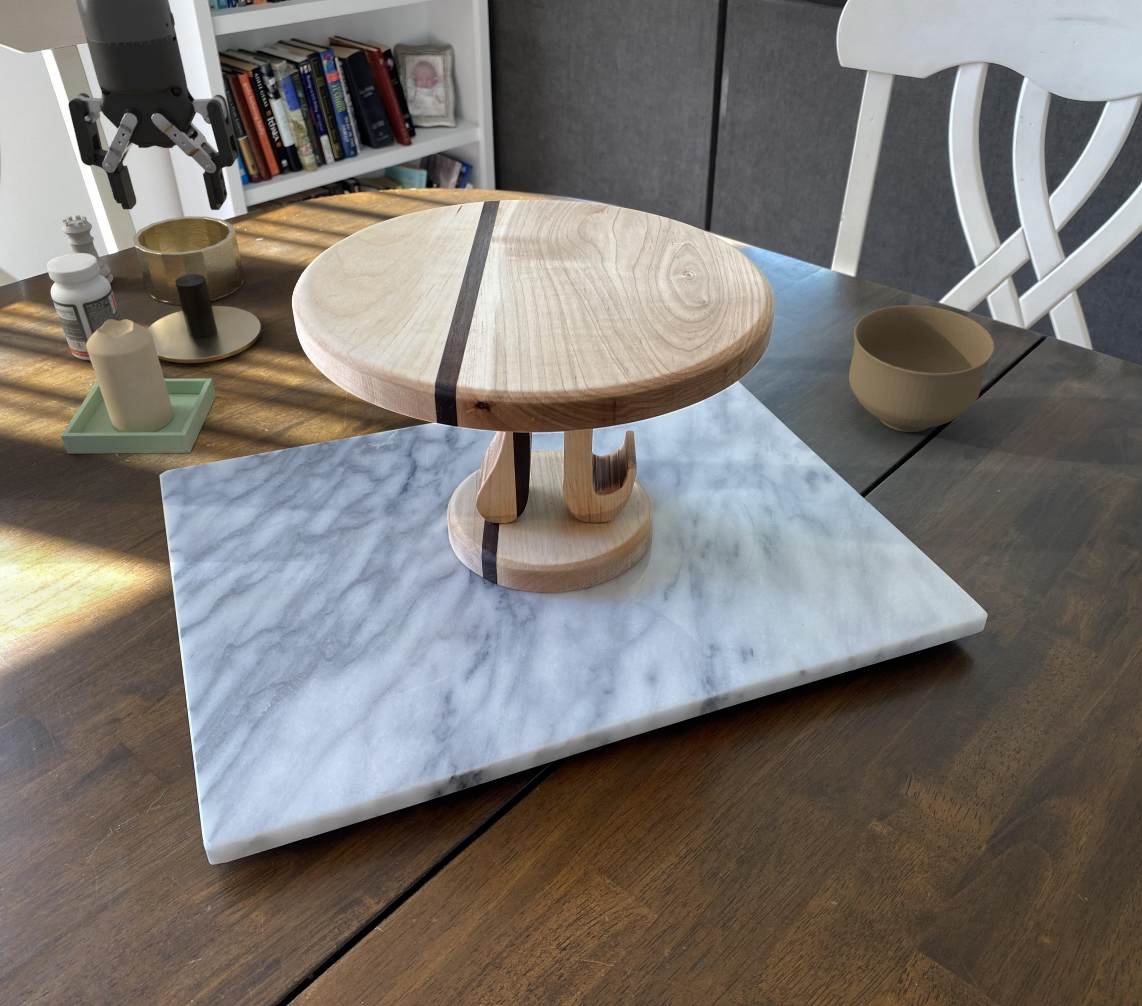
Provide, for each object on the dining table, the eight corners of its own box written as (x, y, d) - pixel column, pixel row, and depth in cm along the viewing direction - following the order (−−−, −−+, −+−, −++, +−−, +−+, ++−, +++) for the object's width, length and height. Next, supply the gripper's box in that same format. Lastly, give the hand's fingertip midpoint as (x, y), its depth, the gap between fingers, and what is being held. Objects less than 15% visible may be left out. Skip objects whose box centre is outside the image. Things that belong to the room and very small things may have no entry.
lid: (130, 368, 98) (111, 306, 93) (163, 314, 107) (148, 255, 103) (249, 368, 98) (236, 306, 94) (272, 314, 108) (261, 256, 103)
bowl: (809, 405, 96) (828, 316, 89) (902, 378, 100) (927, 292, 94) (895, 471, 87) (923, 378, 81) (992, 438, 92) (1026, 348, 86)
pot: (134, 305, 109) (119, 253, 105) (162, 264, 117) (149, 215, 113) (232, 305, 109) (221, 254, 105) (252, 265, 118) (243, 216, 114)
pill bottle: (128, 333, 103) (103, 247, 97) (129, 357, 99) (103, 269, 93) (72, 340, 102) (42, 254, 96) (70, 366, 98) (39, 277, 91)
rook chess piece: (107, 272, 115) (88, 209, 110) (119, 285, 112) (100, 221, 107) (69, 282, 113) (48, 217, 108) (81, 295, 110) (60, 230, 105)
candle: (124, 442, 86) (92, 346, 80) (104, 416, 89) (72, 322, 83) (183, 422, 89) (157, 328, 83) (161, 398, 92) (135, 305, 86)
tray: (67, 453, 85) (60, 435, 84) (104, 395, 93) (98, 378, 92) (190, 453, 86) (185, 435, 85) (216, 395, 94) (212, 378, 93)
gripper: (30, 37, 80) (87, 221, 90) (200, 39, 81) (237, 221, 91) (63, 18, 86) (113, 193, 96) (221, 20, 86) (254, 193, 96)
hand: (174, 207), depth 93 cm, fingers open, 8 cm apart
